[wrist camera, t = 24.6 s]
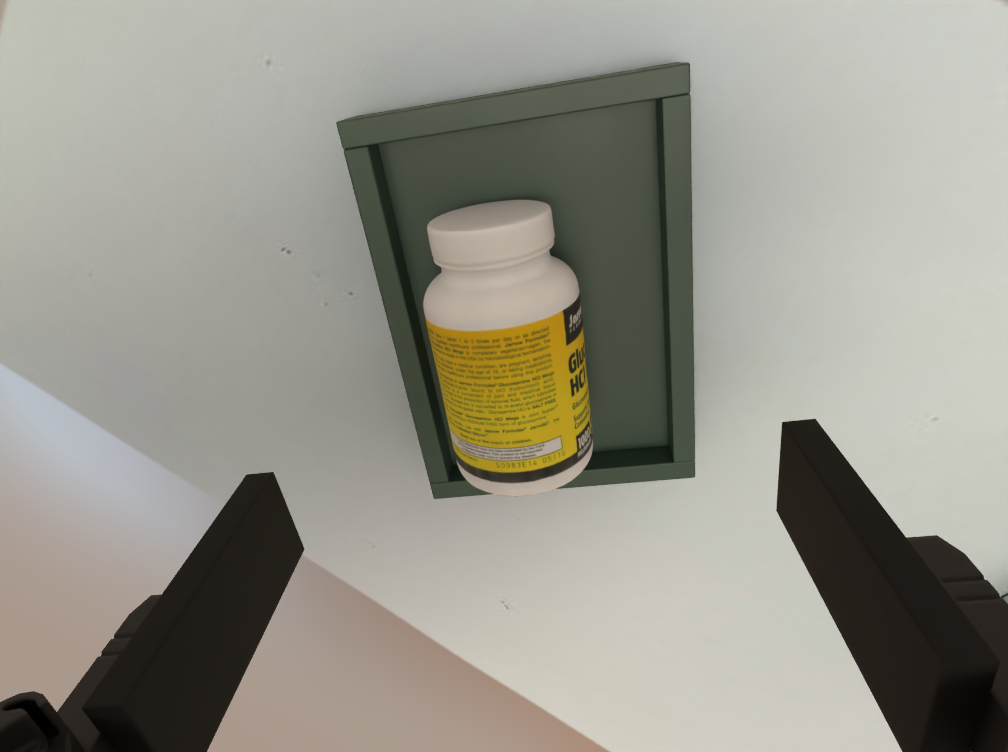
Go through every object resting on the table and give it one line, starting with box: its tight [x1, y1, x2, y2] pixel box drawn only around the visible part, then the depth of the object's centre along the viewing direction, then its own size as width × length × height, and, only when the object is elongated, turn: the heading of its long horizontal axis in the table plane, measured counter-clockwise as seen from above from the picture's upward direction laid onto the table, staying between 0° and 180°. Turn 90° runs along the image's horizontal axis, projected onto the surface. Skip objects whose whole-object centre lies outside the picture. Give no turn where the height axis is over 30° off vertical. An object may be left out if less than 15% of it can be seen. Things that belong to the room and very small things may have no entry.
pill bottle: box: [423, 200, 593, 496], centre depth 25 cm, size 6×6×11 cm
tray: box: [337, 62, 695, 499], centre depth 27 cm, size 18×13×2 cm
